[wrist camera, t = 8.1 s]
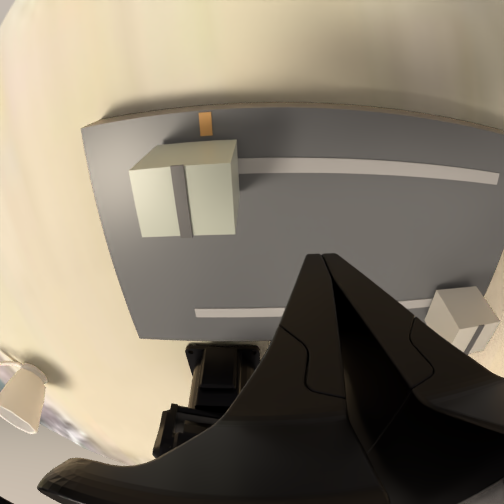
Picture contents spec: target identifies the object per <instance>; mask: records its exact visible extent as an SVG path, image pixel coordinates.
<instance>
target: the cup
mask: <svg viewBox="0 0 504 504" xmlns="http://www.w3.org/2000/svg"><path fill="white" fill-rule="evenodd" d="M4 365H12V366H18V367H20V368H21V369H20V370H18V371H17V372H16V373H15V374H14V376H13V377H12V378H11V379H10V380H9V381H8V382H7V384H6V385H5V387H4V388H3V389H2V391H1V392H0V417H2V418H3V419H5V420H6V421H7V422H9V423H10V424H12V425H13V426H15V427H16V428H18V429H20V430H23V431H25V432H27V433H29V434H35V433H37V432H38V427H39V422H40V416H41V412H42V408H43V403H44V397H45V389H46V387H45V385H44V384H45V383H47V382H48V379H47V377H46V376H45V374H44V373H43V372H42V371H41V370H39V369H38V368H37V367H36V366H34V365H31V364H29V363H26V362H24V363H23V364H21V363H19V362H15V361H0V366H4Z"/></svg>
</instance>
